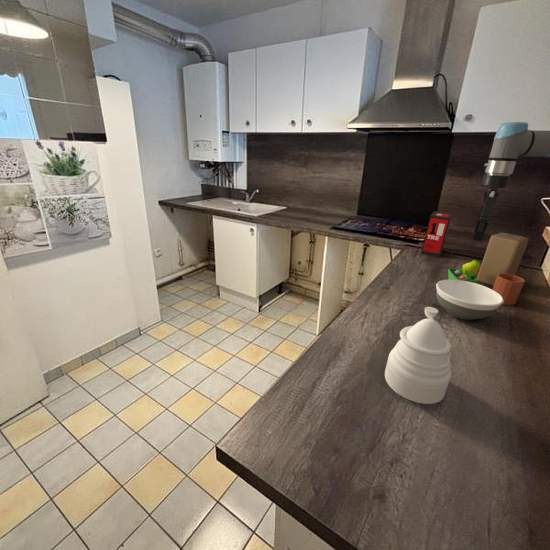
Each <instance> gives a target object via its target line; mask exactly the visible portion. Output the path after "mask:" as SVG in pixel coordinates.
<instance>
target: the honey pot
mask: <svg viewBox="0 0 550 550" xmlns="http://www.w3.org/2000/svg"><path fill="white" fill-rule="evenodd" d="M437 315H439V310H438V309H437V308H435V307H434V306H433V307H432V306H425V307H424V316H425V317H426V318H423V319H421V320H419V321H418V322H416V323H415V324H414V325H410V326H406V327H404V328H402V329H401V330H400V331H399V337H400V339H399V340H398V341H397V343H396V344H395V345H394V347H393V348H391V351H390V352H389V354H388V357H387V361H386V366H385V369H384V379H385V381H386V384H387V385H388V386H389V388H391V389H392V391H394V392H395V393H396V394H398V395H399V396H401V397H403V398H405V399H406V400H408V401H412V402H414V403H418V404H423V405H432V404H433V405H434V404H437V403H440V402H441V401H442V400H444V398H445V395H446V392H447V390H448V387H449V384H450V382H451V379H452V370H451V358H450V355H449V353H450V351H451V350H452V344H451V342H450V341H449V339H448V338H447V337H446V335H445V333H444V330H443V328H442V326H441V325H440V323H439V322H438V321H437V320H435V319H434V318H435V317H437Z"/></svg>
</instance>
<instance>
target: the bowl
mask: <svg viewBox="0 0 550 550" xmlns="http://www.w3.org/2000/svg"><path fill="white" fill-rule="evenodd" d="M435 287H436V293H435V297H436V300H437V302H438V304H439V305H440V306H441V307H442V308H443V309H444V310H445V311H447V313H448V314H449V315H451V316H453V317H455V318H457V319H461V320H464V321H473V320H481V319H484V318H489V317H491V316H492V315H493V314H495V313H496V312H497V310H498V308H499V307H500V306H501V305H503V304H502V303H503V298H502V296H501V295H500V294H498V293H497V292H496V291H494V290H492V288H490V287H488V286H485V285H482V284H479V283H472V282H468V281H462V280H449V279H442V280H439V281H437V283H436V284H435Z"/></svg>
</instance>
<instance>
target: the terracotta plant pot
mask: <svg viewBox="0 0 550 550" xmlns="http://www.w3.org/2000/svg"><path fill="white" fill-rule="evenodd" d="M525 282H526V281H525V278H523V277H522V276H521V277H520V276H518V275H516V274H515V275H511V274H505V273H500V274H498V275H497V277H496V280H495V283H494V286H492V288H491V289H492V290H494V291H496V292H497V293H498V294H500V295H501V296H502V298H503V303H502V304H501V305H506V306H513V305H516V303H517V301H518V298H519V296H520V293H521V291H522V289H523V287H524V284H525Z"/></svg>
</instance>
